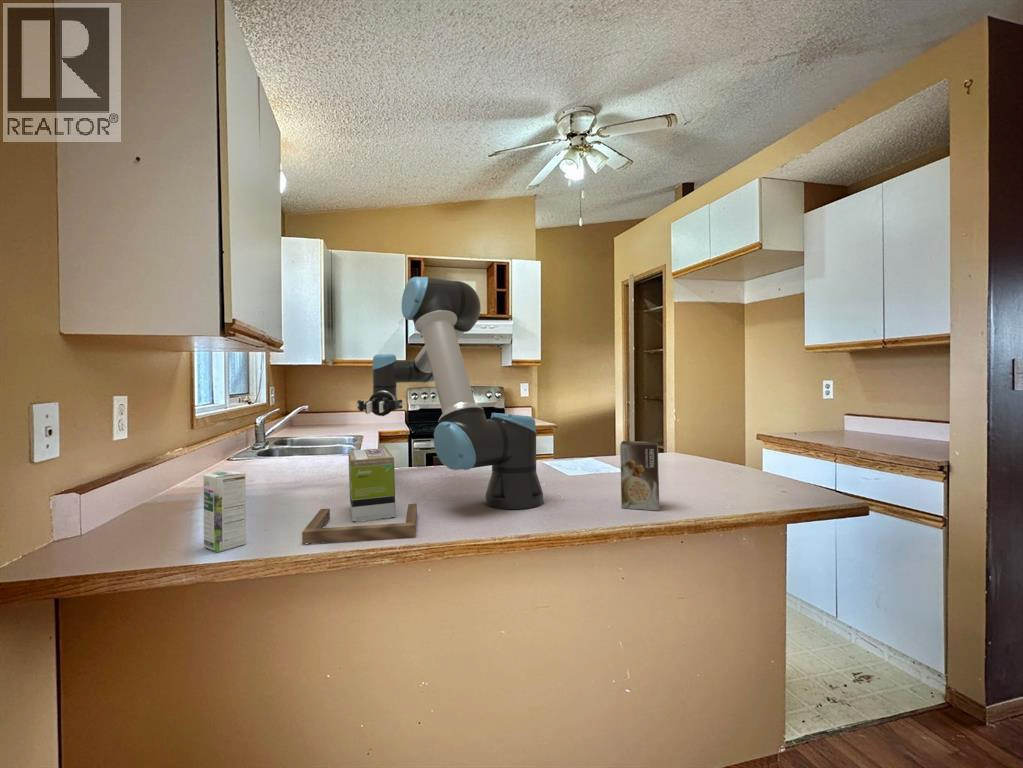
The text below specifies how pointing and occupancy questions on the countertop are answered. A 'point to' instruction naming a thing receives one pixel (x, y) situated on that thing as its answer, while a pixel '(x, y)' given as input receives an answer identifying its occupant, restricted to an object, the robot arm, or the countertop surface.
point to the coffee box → (639, 475)
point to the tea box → (371, 484)
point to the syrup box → (224, 510)
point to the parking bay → (358, 529)
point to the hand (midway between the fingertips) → (374, 407)
